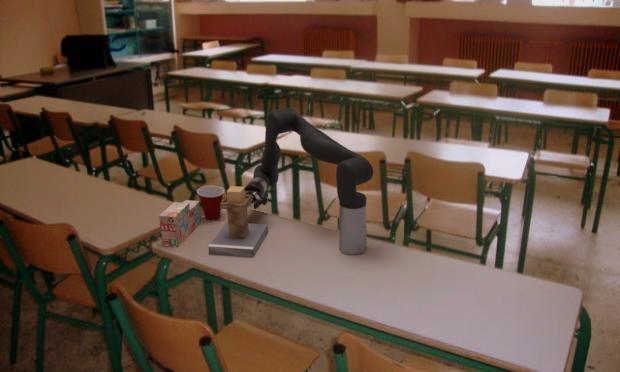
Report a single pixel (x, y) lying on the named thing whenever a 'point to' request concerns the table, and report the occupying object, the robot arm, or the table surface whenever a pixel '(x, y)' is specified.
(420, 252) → the table surface
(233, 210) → the stand
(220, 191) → the plastic cup
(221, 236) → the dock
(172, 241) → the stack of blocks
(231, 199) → the carton
